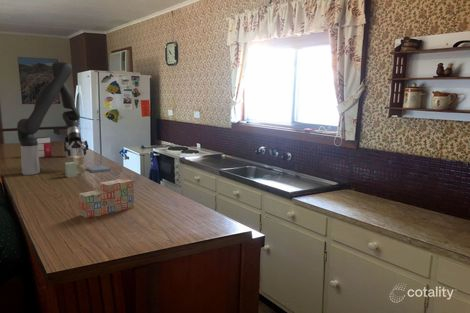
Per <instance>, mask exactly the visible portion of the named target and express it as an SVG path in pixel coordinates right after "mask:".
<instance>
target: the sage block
mask: <svg viewBox="0 0 470 313" xmlns="http://www.w3.org/2000/svg"><path fill="white" fill-rule="evenodd" d="M64 170H65V171H64V172H65V177H67V178H68V177H69V178H75V177H78V174H77V168H76V163H75V162H73V161H72V162H71V161H70V162H65V163H64Z"/></svg>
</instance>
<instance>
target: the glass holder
mask: <svg viewBox="0 0 470 313" xmlns="http://www.w3.org/2000/svg"><path fill="white" fill-rule="evenodd" d="M82 141H85V140H84V139H83V138H82ZM64 142H69V139H68V136H65V137H64ZM82 145H83V146H84V147H85V145H84V144H82ZM68 147H69V145H67V146H66V148H68ZM77 149H78V148H75V149H74V148H72V149H71V150H70V153H71V156H68V152H67V151H65V158H72V159H73V156H78V153H79V152H80V151H81V150H82V149H80V148H79V150H78V151H77Z"/></svg>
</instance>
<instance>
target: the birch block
mask: <svg viewBox="0 0 470 313" xmlns="http://www.w3.org/2000/svg"><path fill="white" fill-rule="evenodd" d="M72 162H75V163H76V168H77V175H78V174H85V173H86V170H85V169H86V167H85V156H84V155H77V156H73V157H72Z"/></svg>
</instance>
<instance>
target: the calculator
mask: <svg viewBox="0 0 470 313" xmlns="http://www.w3.org/2000/svg"><path fill="white" fill-rule="evenodd" d="M35 139H36V140H37V141H38V154H39V159H40V158H49V157H52V143H51V137H50V136H41V137H40V136H39V137H35Z"/></svg>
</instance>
